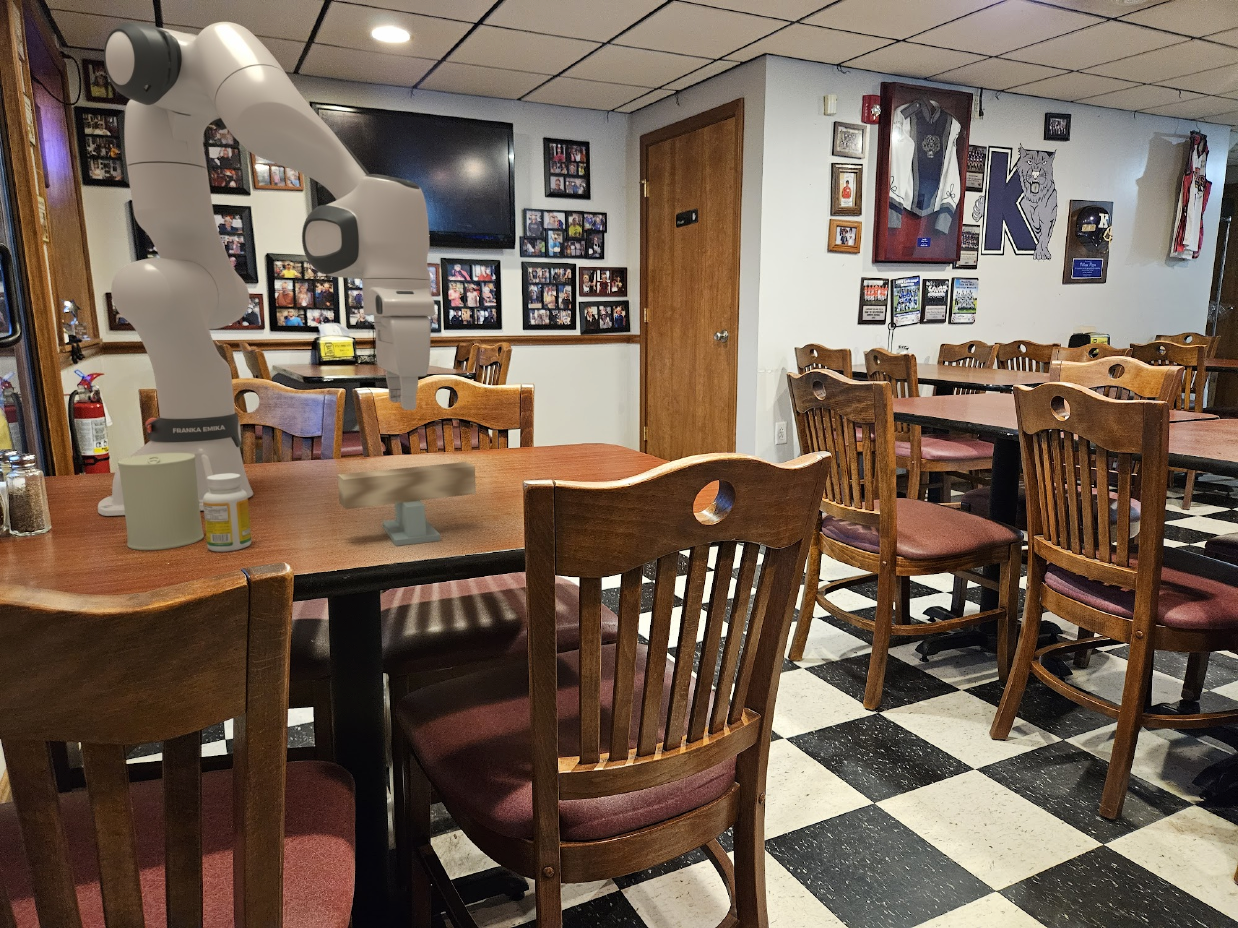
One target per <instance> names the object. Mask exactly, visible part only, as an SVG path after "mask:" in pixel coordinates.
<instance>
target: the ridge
mask: <svg viewBox="0 0 1238 928" xmlns="http://www.w3.org/2000/svg"><path fill="white" fill-rule="evenodd" d="M394 513H395V514H394V516H395V517H394V518H395V519H391V520H383V521H382V528H383V530H384V531H385V533H386V534H387V535H388V537H389V538H390V540H391V541H392V543H393V544H394V546H395V547H399V546H406V545H407V546H408V545H413V544H416V545H417V544H421V543H422V544H423V543H432V542H440V541H441V534H440V533H439V532H438V530H437V529H435V527H434V526H433V525H432V524H431V522H429V520H427V518H426V507H425V504H424V503H423V502H422V500H420V501H412V502H403V503H395V504H394Z"/></svg>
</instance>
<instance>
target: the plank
mask: <svg viewBox="0 0 1238 928" xmlns="http://www.w3.org/2000/svg"><path fill="white" fill-rule="evenodd" d="M337 485H338V498H339V504H340V505H341V506H342V507H343V509H344V510H352V509H353V510H354V509H359V508H360V509H361V508H369V507H370V508H371V507H377V506H383V505H384V506H385V505H393V504H394V505H395V503H403V502H412V501H427V500H436V499H443V498H451V497H452V498H453V497H459V496H468V495H476V494H477V489H476V488H477V487H476V485H477V484H476V466H475V465H473V464H471V463H469V462H466V461H462V462H453V463H442V464H433V465H432V464H431V465H424V466H423V465H421V466H413V467H412V466H411V467H402V468H391V469H381V470H370V471H362V472H361V471H360V472H352V473H341V474H340V473H338V474H337Z"/></svg>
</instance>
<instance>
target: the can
mask: <svg viewBox="0 0 1238 928" xmlns="http://www.w3.org/2000/svg"><path fill="white" fill-rule="evenodd" d="M117 466H118V467H119V471H120V478H121V486H122V493H123V501H124V509H125V515H124V516H125V524H126V535H127V536H126V537H127V541H126V542H127V543H126V546H127V547H128V548H129V549H131V550H135V551H160V550H161V551H162V550H169V549H177V548H182V547H185V546H189V545H192V544H193V545H194V544H195V543H197V542H200V541H201V540H203V539H204V538H205V537H204V536H205V534H204V531H203V525H202V517H201V511H200V507H199V497H198V487H197V477H196V466H195V455H194V454H190V453H158V454H147V455H139V456H133V457H131V456H129V457H125V458H121V459H119V460H118V461H117Z"/></svg>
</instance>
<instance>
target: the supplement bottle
mask: <svg viewBox="0 0 1238 928" xmlns="http://www.w3.org/2000/svg"><path fill="white" fill-rule="evenodd" d="M240 485H241V476H240V475H239V474H234V473H226V474H217V475H212V476H209V477H207V486H208V488H209V489H210V491H209V492H207V493H206V494H205V495H204V497H203V506H204V510H203V514H204V515H203V516H204V526H205V527H204V528H205V536H206V546H207V549H208V550H209V551H212V552H216V553H217V552H218V553H221V552H222V553H226V552H227V553H228V552H233V551H238V550H243V549H245V548H247V547H249V546H250V545H251V544H252V532H251V521H250V520H251V519H250V507H249V498H248V495H247V493H246V492H245V491H244V490H242V489H239V486H240Z"/></svg>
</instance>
